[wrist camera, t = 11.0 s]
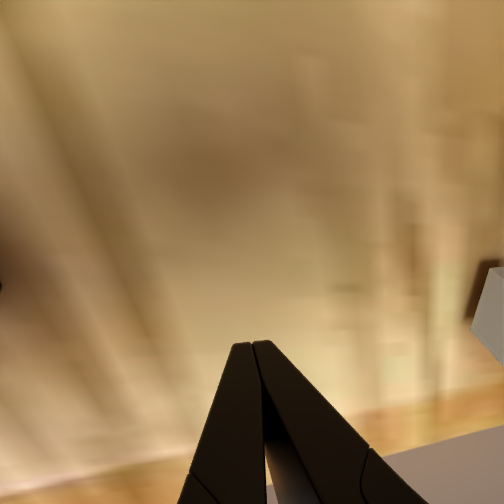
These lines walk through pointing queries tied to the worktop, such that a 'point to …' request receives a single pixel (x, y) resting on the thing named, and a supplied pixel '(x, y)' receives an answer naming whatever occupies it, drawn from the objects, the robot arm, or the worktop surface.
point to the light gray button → (491, 314)
